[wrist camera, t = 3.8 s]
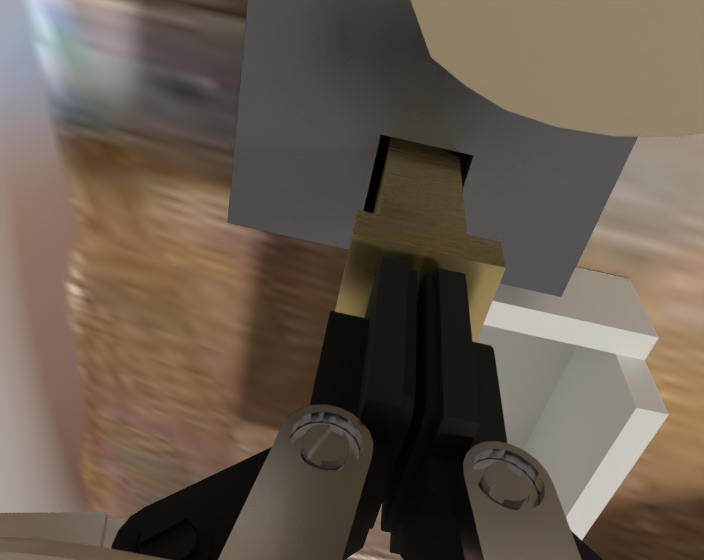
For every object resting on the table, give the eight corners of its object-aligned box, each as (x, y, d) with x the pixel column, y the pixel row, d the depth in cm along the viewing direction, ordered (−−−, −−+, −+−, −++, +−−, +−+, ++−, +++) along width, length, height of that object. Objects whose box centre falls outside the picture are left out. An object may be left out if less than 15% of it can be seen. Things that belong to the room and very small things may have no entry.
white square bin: (367, 220, 23) (350, 317, 18) (629, 278, 23) (685, 391, 18) (319, 423, 29) (296, 537, 24) (526, 467, 29) (547, 590, 24)
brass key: (377, 113, 18) (352, 234, 12) (480, 137, 18) (505, 267, 12) (357, 206, 19) (325, 351, 13) (450, 227, 19) (460, 380, 14)
